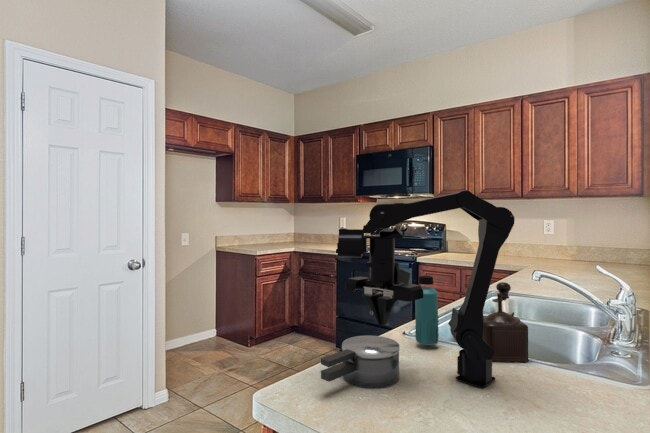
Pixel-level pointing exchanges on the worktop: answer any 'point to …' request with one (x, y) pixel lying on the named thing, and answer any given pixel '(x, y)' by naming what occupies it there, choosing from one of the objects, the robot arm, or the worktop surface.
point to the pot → (365, 372)
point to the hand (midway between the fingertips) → (382, 325)
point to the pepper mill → (506, 332)
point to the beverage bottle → (427, 314)
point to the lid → (363, 349)
